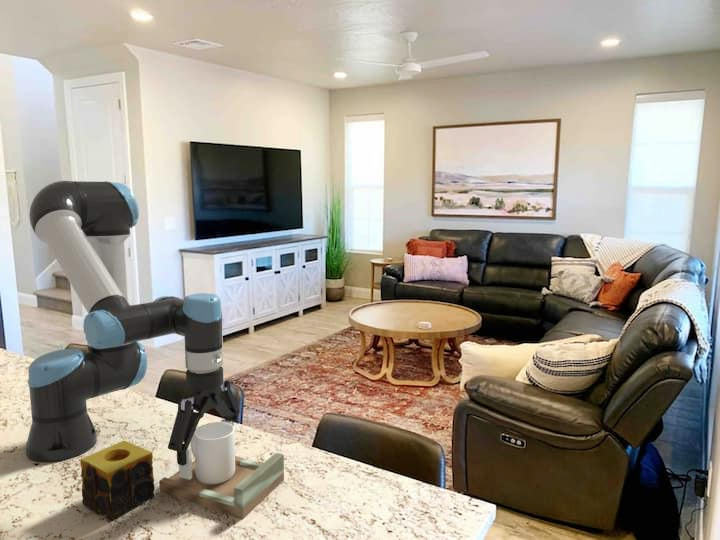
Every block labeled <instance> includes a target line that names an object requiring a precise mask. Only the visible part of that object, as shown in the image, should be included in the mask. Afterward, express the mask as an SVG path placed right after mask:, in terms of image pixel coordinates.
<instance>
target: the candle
mask: <svg viewBox="0 0 720 540" xmlns="http://www.w3.org/2000/svg"><path fill="white" fill-rule="evenodd" d="M153 456H154V455H153V452H152V451H150V450H148V449H146V448H143V447H140V446H138V445H136V444H134V443H132V442H129V441H126V440H122V441H119V442H116V443H115V444H113V445H110V446H108V447H105V448H103V449H101V450H99V451H96V452H94V453H93V454H89V455H88V456H84V457H82V458H80V460H79V462H80V469H81V472H80V473H81V482H82V483H81V496H82V500H81V502H82V506H84V507H85V508H87V509H89V510H90V511H92V512H93V513H95V514H97V515H98V516H99V515H100V516H103V517H104V518H105V519H106V520H108V521H110V522H112V521H114V520H115V519H118V518H119V517H121V516H124V515H125V514H127V513H128V512H130V511H133V510H134V509H136V508H137V507H139V506H140V505H142V504H144V503H146V502H147V501H149V500H151V499H153V498H154V497H155V478H154V467H153V464H154V463H153V462H154V461H153Z"/></svg>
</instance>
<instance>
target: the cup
mask: <svg viewBox="0 0 720 540" xmlns="http://www.w3.org/2000/svg"><path fill="white" fill-rule="evenodd" d="M233 426H234V425H233ZM233 426H232V425H231V424H228V423H223V422H221V421H220V422H219V421H218V422H209V423H205V424H202V425H200V426H199V427H198V426H197V427H196V430H195V432H194V435H193V437H192V439H191V442H190V448H191V455H192V456H193V457H194V461H195V472H196V478H197V479H198V481H199V482H201V483H203V484H209V485H213V484H220V483H223V482H226V481H228V480H229V479H230V478H232V476H233V475H234V473H235V456H236V449H235V445H236V444H235V427H233Z"/></svg>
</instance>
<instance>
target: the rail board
mask: <svg viewBox="0 0 720 540" xmlns="http://www.w3.org/2000/svg"><path fill="white" fill-rule="evenodd" d="M284 481H285V455H284V454H283V453H278V452H275V453H274V454H273V455H272V456H270V457H269V458H268V459H266V460H265V461H264V462H261V461H256V460H254V459H253V460H252V459H248V458H244V457H240V456H237V455H235V473H234V475H233V476H232V478H230V479H229V480H228V481H226V482H223V483H220V484H213V485H209V484H203V483H201V482H199V481H198V479H197V478H196V472H195V460H193V461H192V479H190V480H189V479H185V478H182V477H179V470H178V471H176V472H175V473H174V474H173V475H171V476H169V477H163V478H161V479H159V481H158V482H159V483H158V484H159V494H161V495H164V496H168V497H171V498H175V499H178V500H181V501H183V502H188V503H191V504H193V505H197V506H201V507H203V508H207V509H210V510H214V511H217V512H219V513H224V514H226V515H229V516H233V517H235V518H239V519H244V518H246V517H247V516H248V515H249V514H250V513H251V512H252V511H253V510H254V509H255V508H256V507H257V506H259V504H260V503H261V502H263V501H264V500H265V499H266V498H267V497H268V496H269V495H270V494H271V493H273V491H274V490H275V489H276V488H277V487H278V486H279V485H281V484H282V482H284Z"/></svg>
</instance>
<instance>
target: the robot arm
mask: <svg viewBox="0 0 720 540" xmlns="http://www.w3.org/2000/svg"><path fill="white" fill-rule="evenodd" d="M29 208H30V209H29V214H28V215H29V216H28V217H29V221H30V225H31V228H32V231H33V233H34V234H35V236H36V237H37V239H39V240H40V241H41V242H43V243H46V244H47V246H48V248H49V249H50V251H51V253H52V255H53V256H54V258H55V260H56V261H57V264H58V265H59V266H60V269H62V271H63V273H64V276H65V277H66V278H67V280H68V282H69V283H70V285H71V287H72V289H73V290H74V292H75V294H76V295H77V297H78V299H79V300H80V303H81V304H82V306H83V307H84V309H85V311H86V312H87V314H86V316H85V317H84V318H83V319H84V320H83V326H82V327H83V333H84V335H85V340H86V343H87V344H86V346H87V351H85V352H83V351H82V350H81V349H79V348H71V347H70V348H69V347H68V348H66V349H57V350H53V351H50V352H47V353H44V354H42V355H40V356H38V357H37V358H35V359H34V360H33V361H32V362H30V364H29V366H28V369H27V370H28V379H27V385H28V390H29V400H30V409H31V410H30V411H31V412H30V413H31V421H32V422H31V425H30V429H29V433H28V437H27V440H26V443H25V453H26V454H25V455H26V457H27V458H28V459H29V460H32V461H35V462H44V463H45V462H46V463H47V462H57V461H62V460H66V459H67V460H68V459H71V458H75V457H76V456H77V457H78V456H79V455H83V454H84V453H86V452H87V451H89V450H90V449H92V448H93V447H94V446H95V445H96V444H97V441H98V438H97V437H98V436H97V431H96V428H95V426H94V423H93V421H92V419H91V417H90V416H89V413H88V408H87V401H88V400H89V399H93V398H97V397H99V396H102V395H108V394H110V393H114V392H118V391H124V390H127V389H129V388H131V387H134V386H137V385H138V384H139V383H141V381H142V380H143V379H144V377H145V375H146V373H147V368H148V355H147V352H145V351H146V348H145V347H144V345H143V344H142V343H141V341H143V340H144V341H145V340H151V339H155V338H158V337H163V336H168V335H173V334H175V335H178V336H182V337H184V355H185V356H184V358H185V360H184V361H185V369H186V371H185V380H186V381H185V382H186V384H185V385H186V388H187V389H188V390H189V397H188V398H186V399H184V398H180V399H179V400H178V401H177V412H176V416H175V419H174V422H173V427H172V430H171V435H170V437H169V441H168V446H167V449H168V450H169V451H174V452H176V463H177V465H178V471H179V477H182V478H185V479H189V480H190V479H192V462H193V461H192V459H193V458H192V450H191V447H189V446H190V445H191V443H190V442H191V439H192V437H193V435H194V432H195V430H196V429H197V428H198V425H199V424H200V423H199V422H200V420H201V419H202V418H204V416H205V414H206V413H208V412H209V411H210V410H213V409H214V410H216V412H217V413H219V415H220V416H221V417H222V419H221V420H220V422H223V423H228V424H231V425H232V426H233V427H234V421H235V422H237V421H238V419H239V417H238V415H240V412H241V411H240V407H239V405H238V403H237V401H236V398H235V396H234V394H233V391H232V387H231V381H230V380H227V379H224V368H223V364H224V362H223V358H224V357H223V311H222V302H221V298H220V297H219V296H218V294H215V293H205V292H204V293H192V294H188V295H186V296H184V298H179V297H178V296H172V295H171V296H168V295H166V296H165V295H163V296H160V297H158V298H156V299H154V300H153V301H150V302H145V303H138V304H132V305H131V304H130V303H129V300H128V296H129V295H128V283H127V280H128V279H127V267H126V252H125V242H126V240H127V239H128V238H129V237H130V236H131V228H134V227H135V226H136V225H137V224H138V220H139V218H140V217H139V216H140V211H139V205H138V200H137V199H136V197H135V194H134V192H132V190H131V189H130V188H129V187H128V186H127V185H125V184H124V183H121V182H114V181H107V180H106V181H87V180H86V181H83V180H82V181H79V180H78V181H77V180H76V181H73V180H59V181H54V182H52V183H50V184H48V185H46V186H44V187H43V188H42V189H40V190H39V191H38V192H37V194H35V196H34V198H33V199H32V201H31V203H30V207H29ZM194 410H195V411H194ZM234 428H235V427H234Z"/></svg>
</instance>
